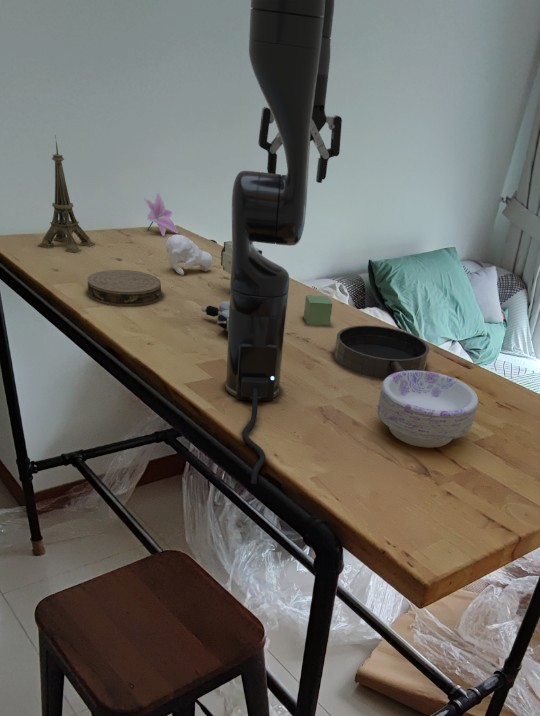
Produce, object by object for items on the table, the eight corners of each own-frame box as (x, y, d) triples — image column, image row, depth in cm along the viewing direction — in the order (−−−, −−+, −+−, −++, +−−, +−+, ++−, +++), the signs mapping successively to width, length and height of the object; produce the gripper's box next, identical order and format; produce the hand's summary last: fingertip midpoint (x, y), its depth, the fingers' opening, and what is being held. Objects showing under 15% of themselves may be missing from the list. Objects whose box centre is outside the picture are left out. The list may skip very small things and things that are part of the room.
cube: (329, 326, 142) (332, 303, 139) (307, 325, 141) (309, 302, 138) (325, 318, 146) (328, 296, 143) (303, 317, 145) (305, 294, 142)
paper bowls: (404, 463, 97) (415, 415, 92) (357, 417, 108) (365, 372, 103) (485, 451, 103) (499, 406, 98) (433, 409, 113) (444, 366, 109)
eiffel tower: (94, 244, 175) (86, 136, 160) (75, 252, 167) (64, 140, 151) (58, 238, 176) (47, 130, 161) (38, 246, 168) (23, 134, 153)
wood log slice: (110, 310, 136) (109, 295, 134) (75, 287, 145) (74, 274, 143) (174, 300, 145) (174, 286, 143) (138, 280, 154) (137, 267, 152)
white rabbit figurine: (164, 231, 159) (209, 235, 164) (161, 267, 163) (206, 270, 169) (172, 237, 154) (219, 242, 160) (169, 274, 159) (215, 277, 165)
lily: (141, 240, 187) (155, 211, 181) (126, 214, 191) (140, 185, 185) (175, 251, 195) (189, 223, 190) (160, 225, 199) (174, 198, 194)
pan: (436, 382, 123) (441, 362, 121) (344, 378, 120) (348, 358, 118) (409, 346, 137) (413, 327, 135) (326, 342, 134) (328, 323, 132)
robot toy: (197, 321, 138) (225, 342, 127) (197, 299, 136) (226, 319, 125) (249, 317, 143) (280, 337, 133) (250, 296, 141) (282, 314, 130)
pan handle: (412, 390, 114) (414, 380, 113) (401, 390, 113) (403, 379, 112) (398, 370, 121) (400, 359, 120) (387, 369, 120) (390, 359, 119)
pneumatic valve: (235, 286, 158) (238, 234, 151) (262, 301, 151) (266, 247, 143) (216, 288, 155) (217, 235, 148) (242, 304, 148) (245, 248, 141)
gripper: (266, 65, 103) (259, 179, 113) (352, 76, 106) (338, 187, 115) (261, 64, 109) (255, 173, 119) (343, 74, 112) (330, 180, 121)
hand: (296, 179), depth 117 cm, fingers open, 8 cm apart
